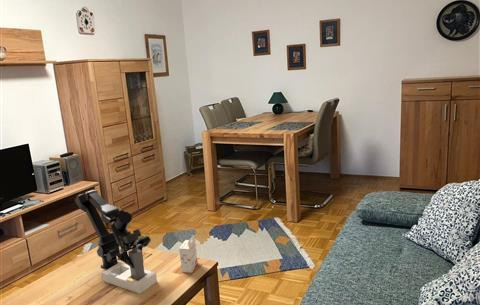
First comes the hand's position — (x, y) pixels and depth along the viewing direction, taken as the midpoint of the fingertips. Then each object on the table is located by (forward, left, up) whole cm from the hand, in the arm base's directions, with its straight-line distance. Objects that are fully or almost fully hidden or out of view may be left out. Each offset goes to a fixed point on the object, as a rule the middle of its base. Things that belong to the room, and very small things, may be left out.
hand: (138, 265), depth 163 cm
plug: (-1, 0, -7) cm, 7 cm away
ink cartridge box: (+10, +20, -9) cm, 25 cm away
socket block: (-7, 0, -9) cm, 11 cm away
